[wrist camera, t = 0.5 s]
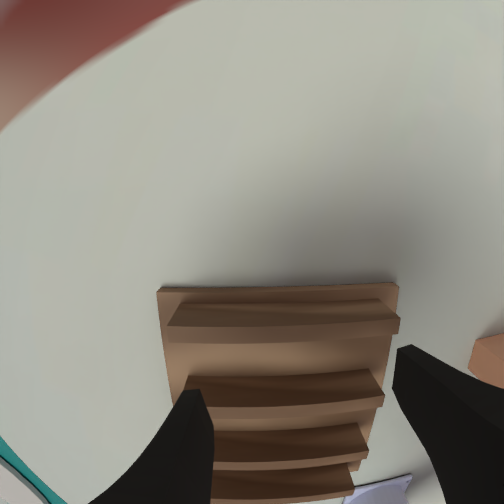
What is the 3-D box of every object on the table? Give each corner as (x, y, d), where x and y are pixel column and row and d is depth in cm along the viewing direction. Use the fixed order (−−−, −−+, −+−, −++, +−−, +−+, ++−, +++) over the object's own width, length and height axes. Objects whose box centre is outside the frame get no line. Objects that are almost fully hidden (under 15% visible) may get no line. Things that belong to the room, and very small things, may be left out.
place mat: (148, 552, 31) (146, 561, 28) (54, 538, 33) (51, 544, 31) (-50, 347, 23) (-60, 354, 21) (-85, 384, 25) (-91, 389, 23)
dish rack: (355, 463, 24) (366, 495, 20) (191, 471, 24) (184, 505, 19) (392, 282, 20) (423, 303, 16) (160, 287, 20) (138, 312, 16)
